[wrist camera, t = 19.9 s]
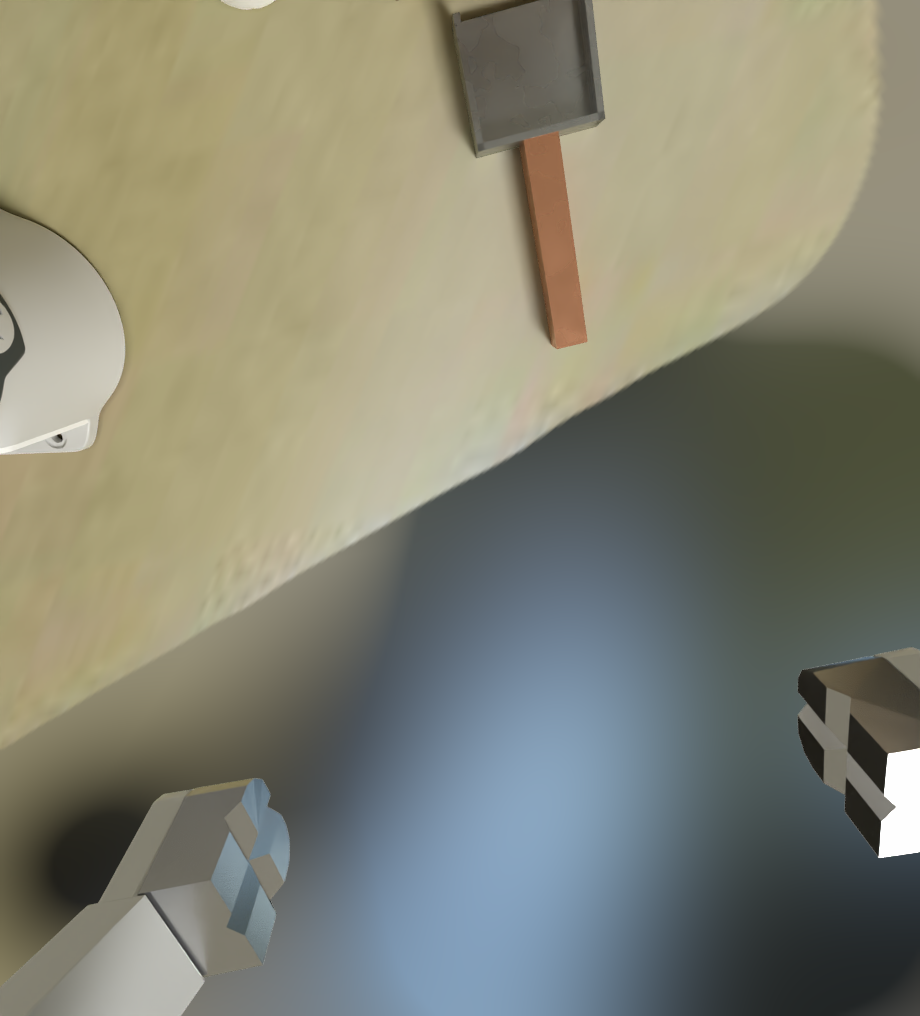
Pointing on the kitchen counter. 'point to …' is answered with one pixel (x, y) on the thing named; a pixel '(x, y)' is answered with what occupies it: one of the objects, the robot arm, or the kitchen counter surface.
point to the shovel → (537, 123)
